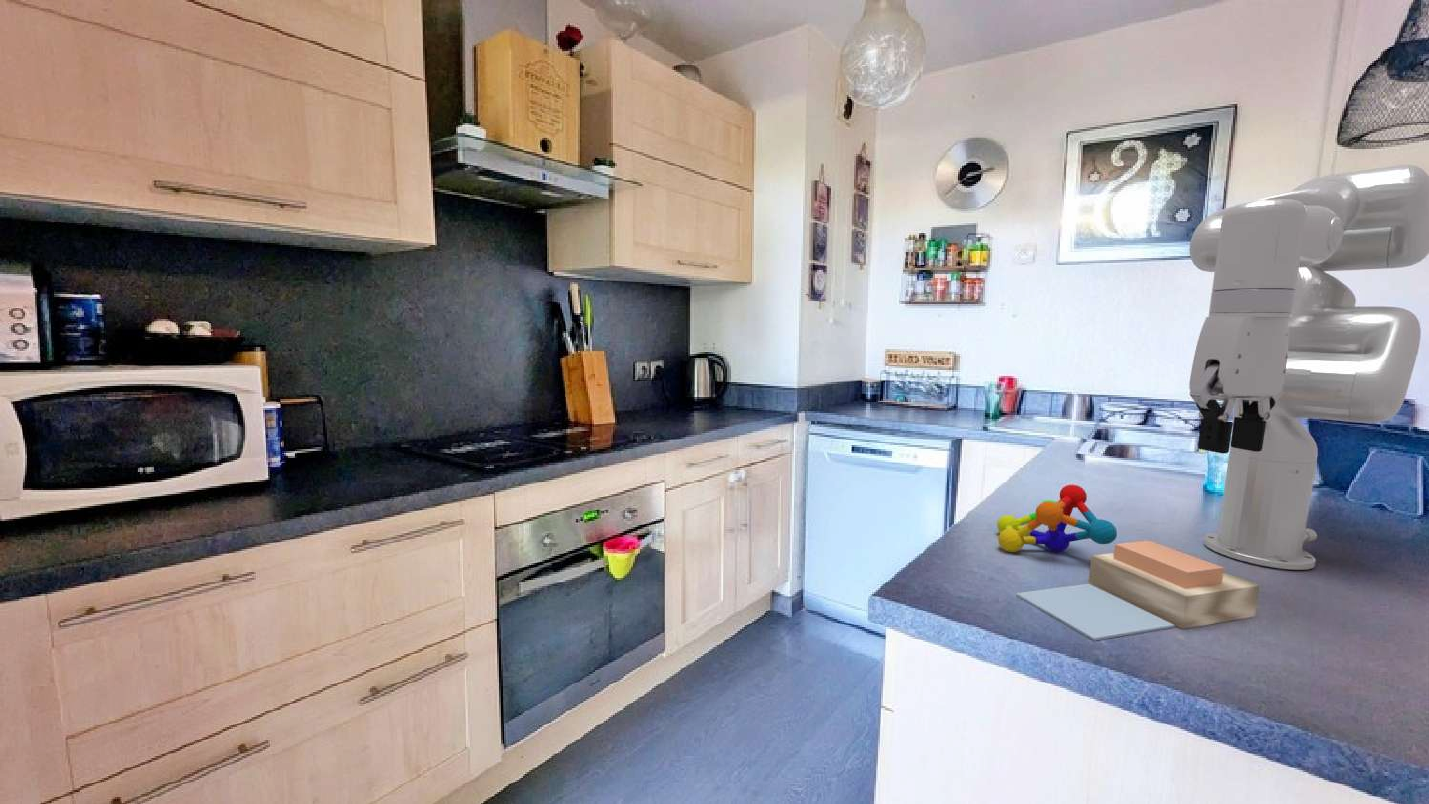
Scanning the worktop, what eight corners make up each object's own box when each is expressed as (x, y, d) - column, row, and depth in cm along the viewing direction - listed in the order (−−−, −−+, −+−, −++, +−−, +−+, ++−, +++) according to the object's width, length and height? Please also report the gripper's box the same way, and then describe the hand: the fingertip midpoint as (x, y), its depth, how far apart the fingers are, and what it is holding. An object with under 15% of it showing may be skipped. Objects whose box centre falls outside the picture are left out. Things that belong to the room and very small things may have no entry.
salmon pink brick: (1147, 554, 77) (1149, 540, 77) (1221, 583, 69) (1223, 567, 68) (1113, 558, 76) (1115, 544, 75) (1185, 588, 67) (1187, 572, 67)
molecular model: (1021, 585, 84) (1129, 551, 80) (995, 526, 83) (1102, 490, 80) (994, 547, 98) (1085, 517, 95) (972, 497, 98) (1062, 465, 94)
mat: (1088, 585, 76) (1088, 583, 76) (1174, 627, 66) (1174, 624, 66) (1016, 595, 73) (1016, 593, 73) (1093, 640, 63) (1094, 638, 63)
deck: (1154, 574, 80) (1158, 547, 80) (1254, 616, 69) (1259, 585, 68) (1088, 583, 77) (1091, 555, 76) (1181, 629, 66) (1186, 596, 65)
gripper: (1261, 309, 76) (1242, 442, 78) (1167, 305, 71) (1149, 446, 74) (1335, 307, 69) (1311, 454, 71) (1235, 303, 64) (1213, 460, 66)
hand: (1229, 448), depth 72 cm, fingers open, 5 cm apart
